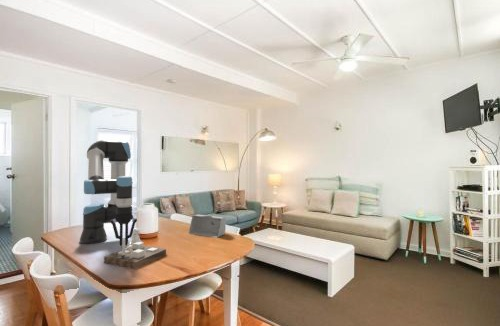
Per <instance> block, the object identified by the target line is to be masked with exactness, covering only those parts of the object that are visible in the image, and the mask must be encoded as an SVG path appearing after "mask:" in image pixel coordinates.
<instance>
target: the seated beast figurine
mask: <svg viewBox="0 0 500 326" xmlns="http://www.w3.org/2000/svg"><path fill="white" fill-rule="evenodd" d="M140 232H141V230H140V228H139V227H134V229H133V233H132V237H131V238H130V239H131V241H130V242H128V245H126V249H127V248H130V247H133V243H136V242H143V241H142V240H141V239H140V235H139V234H140Z"/></svg>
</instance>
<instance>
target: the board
mask: <svg viewBox="0 0 500 326" xmlns="http://www.w3.org/2000/svg"><path fill="white" fill-rule="evenodd" d="M150 248H158V251H155V252H153V253H152V252H147V249H150ZM125 250H126V251H130V253H129V254H127V255H123V256H122V255H118V252H120V251H121V250H120V251H117V252H114V253H110V254H108V255H105V256H104V257H103V261H104V262H103V263H104V264H110V265H114V266H119V267H123V268H127V269H133V270H134V269H137V268H139V267H142V266H144V265H146V264H148V263H151V262H153V261H155V260H158V259H159V258H162V257H163V256H164V257H165V256H166V255H167V249H166V248H161V247H157V246H156V247H155V246H149V245H144V248H143V249H140V250H144V256H143V257H141V258H139V259H138V258H133V257H132V251H135V249H133V247H130V248H127V247H126V248H125Z"/></svg>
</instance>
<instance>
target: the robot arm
mask: <svg viewBox="0 0 500 326" xmlns="http://www.w3.org/2000/svg"><path fill="white" fill-rule="evenodd" d="M131 154H132V152H131V146H130V144H129V142H128V141H125V140H106V139H105V140H103V139H102V140H98V141H96V142H93V143H92V144H91V145H90V146H89V147H88V149H87V152H86V158H87V159H88V172H87V174H88V177H87V179H85V180H84V181H83V194H85V195H103V194H109V195H110V200H108V202H107V204H106V205H105V203H104V202H98V203H93V204H92V203H91V204H89V205H85V206H84V208H83V211H82V216H83V217H82V218H83V219H82V221H83V222H82V232H81V234H80V237H79V243H80V244H85V245H87V244H88V245H90V244H97V243H102V242H106V241H107V239H108V236H107V232H106V229H105V225H104V224H111V225H112V228H113V232H114V236H115V239H117V240H119V246H121V251H122V252H125V249H127V245H128V243H129V239H132V236H133V235H132V233H133V230H134V229H135V226H136V223H137V221H138V218H136V217H134V216H133V206H132V205H133V177H132V176H126V164H127V163H128V162H129V160H131V158H132V157H131ZM104 159H108V163H109V164H110V179H105V177H104V174H105V173H104ZM131 221H132V224H131V227H130V230H129V223H130V222H131ZM116 223H118V224H119V232H118V228H117V224H116ZM124 225H125V229H124V227H123V226H124ZM124 230H125V232H123V231H124ZM123 233H125V237H123V236H124V234H123Z"/></svg>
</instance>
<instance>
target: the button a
mask: <svg viewBox="0 0 500 326" xmlns="http://www.w3.org/2000/svg"><path fill="white" fill-rule="evenodd" d="M117 252H118V255H122V256H123V255H127V254H129V253H130V251H126V250H125V252H122V250H120V252H119V251H117Z"/></svg>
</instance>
